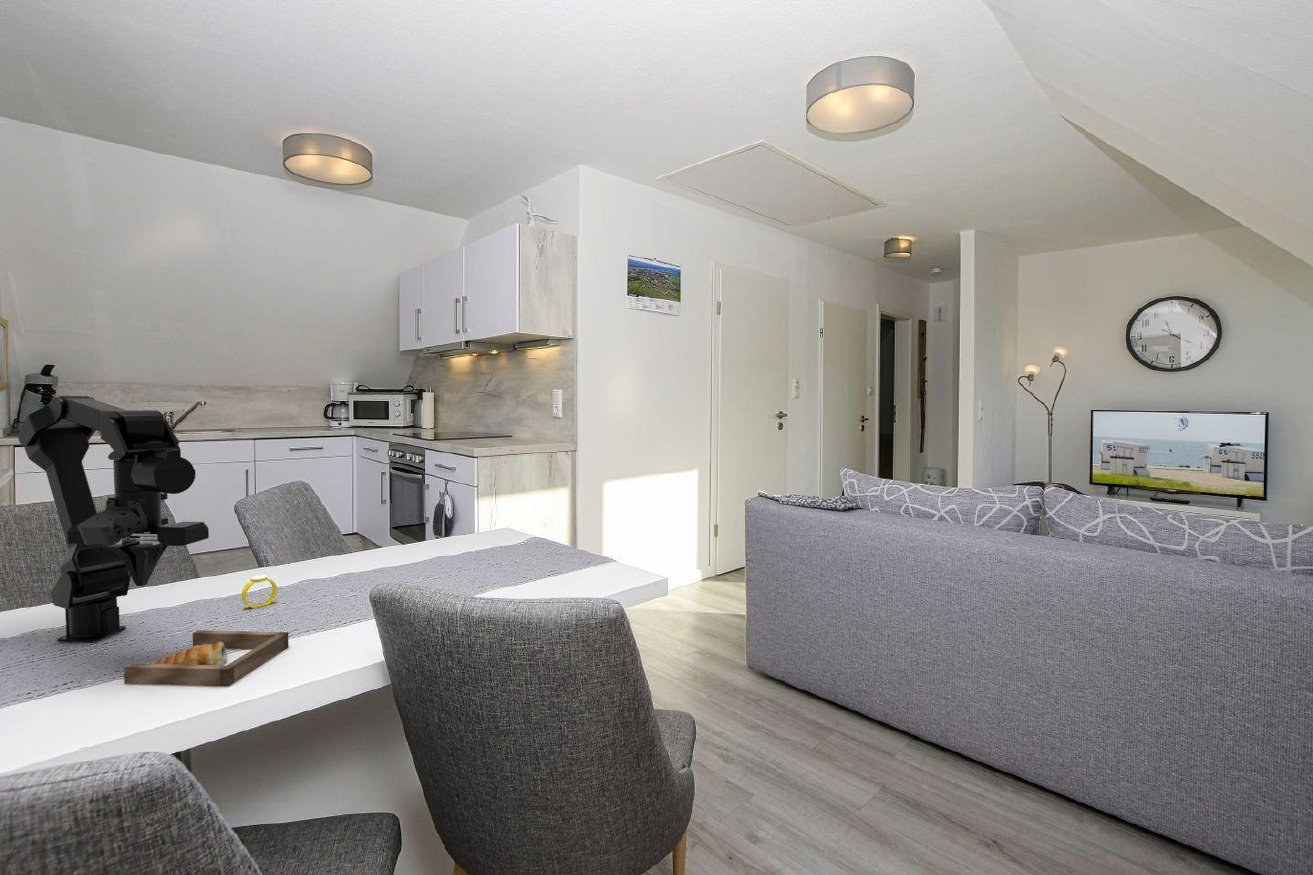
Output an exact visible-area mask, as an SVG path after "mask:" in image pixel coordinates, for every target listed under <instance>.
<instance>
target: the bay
mask: <svg viewBox="0 0 1313 875" xmlns="http://www.w3.org/2000/svg"><path fill="white" fill-rule="evenodd" d="M218 642H222V643H224V646H225V650H226V649H229V650H230V649H231V650H232V649H233V650H236V649H237V650H249V651H248V652H246V653H244V654H243V655H241V656H239V657H237V658H236V659H234V660H232V661H231V662H229V663H228V664H226V665H224V666H218V665H177V664H154V663H133V662H131V663H128V664H127V665H125V666H123V680H124V681H123V683H124V685H157V686H161V685H162V686H198V687H199V686H200V687H202V686H203V687H230V686H232V685H233V684H234V683H236V682H237V681H239V680H240V679H242V678H244V677H245V676H246V675H248V674H249V673H250V674H251V672H252V671H254V670H256V669H258V668H259V667H261V666H262V665H264V664H265V663H266V662H268V661H270V660H271V659H273V658H274V657H276V656H277V655H278V654H280V653H282V652H283V651H285V650H286V649H288V648H289V632H288V631H287V632H284V631H283V632H282V631H251V630H250V631H246V630H245V631H243V630H204V629H201V630H199V629H198V630H196V631H194V632H192V647H193V646H196V645H203V644H217V643H218Z"/></svg>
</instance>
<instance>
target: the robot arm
mask: <svg viewBox="0 0 1313 875" xmlns="http://www.w3.org/2000/svg"><path fill="white" fill-rule="evenodd" d="M96 431H97V432H99V433H100V440H102V441H104V443H106V444H108V445H109V446H110V448H111V449H112V450H113V451H111V452H110V453H109V454H108V457H107V459H108V460H110V461H113V482H114V485H113V487H114V496H111V497H107V500H106V501H105V502H106V503H105V509H104V510H102V511H100V512H99V511H97V509H96V505H95V501H94V498H93V495H92V491H91V487H90V484H89V482H88V477H87V474H86V471H85V469H84V465H83V460H84V458H85V456H86V454H87V452H88V450H89V449H90V442H89V440H90V439H91V438H92V437H93V435H94V434H95V433H96ZM17 435H18V442H19V444H20V445H21V446H22V447H23V449H24V450H25V453H26V456H27V458H28V459H29V460H30V461H31V462H33V463H34V464H35V465H36V466H38V467H39V468H41V469H42V470H43V471H44V472H45V473H46V476H47V481H48V484H49V487H50V488H49V489H50V491H51V494H52V499H53V501H54V504H55V508H56V511H57V514H58V515H57V516H58V518H59V521H60V525H61V529H62V532H63V535H64V538H65V541H66V542H65V543H66V546H67V552H66V553H65V556H64V558H63V561H62V563H61V564H60V567H59V568H60V569H59V570H60V573H61V574H60V577H59V578H58V580H57V582H56V584H55V585H54V587H53V588H52V591H51V592H50V595H51V599H52V600H51V601H52V605H53V606H54V607H58V608H62V609H64V610H65V615H64V616H65V632H66V633H65V635H62V636H59V637H58V638H57V640H56V641H57V642H61V643H62V642H63V643H64V642H65V643H66V642H71V643H73V642H74V643H96V642H98V641H100V640H103V639H105V638H108V637H110V636H112V635H115V634H117V633H119V632H122V631H124V630H126V628H127V626H126V625H120V624H121V623H120V607H119V606H118V597H125V596H127V595H128V593H129V592H128V591H129V588H130V581H131V578H132V580H133V582H134V584H135V586H136V587H144V586H146V585H147V584H148V582H149V580H150V578H151V576H152V574H153V572H154V570H155V569H156V567H157V564H158V563H159V560H160V559H161V557H162V556H163V554H164V552H165V551H166V550H167V548H168V547H181V546H187V545H190V544H194V543H197V542H201V541H204V540H207V539H209V538H210V535H209V534H210V532H209V526H208V525H207V524H206V523H205V522H204V521H179V522H176V523H173V524H169V517H163V516H162V515H163V514H162V512H163V511H162V501H164V500H168V494H169V495H170V494H171V495H177V494H181V493H184V492H186V491H187V490H188V489H190V488H191V486H192V485H193V483H194V481H195V479H196V475H197V474H196V469H195V468H194V465H193V464H192V463H191V461H190V460H188V459H187V458H184V457H182V454H181V447H180V445H179V443H180V440H179V439H178V437H177V436H176V434H175V433H174V432H173V430H172V428H171V426H170V423H169V422H168V419H167V418H166V417H164V414H163V413H162V412H161V411H160V410H157V409H154V410H153V409H124V408H121V407H118V406H116V405H111V404H109V403H106V402H103V401H100V400H96V399H95V398H94V397H92V396H91V397H90V396H88V395H59V396H53V398H52V399H51V400H50V402H49V403H48V404H47V405H45V406H44V407H42V408H40V409H38V410H35V411H33V412H31V413H30V414H28V415H27V417H26V418H25V419H24V420H23V423H22V424H21V425H20V427H19V430H18V433H17Z"/></svg>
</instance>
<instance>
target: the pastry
mask: <svg viewBox="0 0 1313 875" xmlns="http://www.w3.org/2000/svg"><path fill="white" fill-rule="evenodd" d="M227 660H228V654H227V650H226V649H225V646H224V643H222V642H218V643H217V644H203V645H196V646H193V645H192V647H190V648H184V649H182V650H180V651H176V652H173V653H171V654H170V655H168V656H167V655H166V656H164V657H162V658H160V659H158V660H156V661H155V662H154V663H153V664H177V665H218V666H225V662H226V661H227Z"/></svg>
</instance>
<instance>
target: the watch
mask: <svg viewBox="0 0 1313 875" xmlns="http://www.w3.org/2000/svg"><path fill="white" fill-rule="evenodd" d="M266 581H268V582H269V583H270V585H271V588H272V591H271V593H270V596H269V598H268V599H267V600H266V601H265V602H262V603H257V604H250V603H249V601H248V599H247V597H248V596H247V593H248V591H249V589H251V586H253V585H254V584H255V583H262V582H263V583H264V582H266ZM277 594H278V585H277V583H276V582H275V580H272V579H270V578H268V576H267V575H265V574H257V575H254V576H252V577H250V580H249V581H248V582H247V583H246V584H245V585H244V587H243V589H242V591H241V600H242V602H243V604H244V605H245V606H247V607H249V608H251V609H257V608H261V607H265V606H269V605H271V604H272V603H273V601H274V600H275V599H276V597H277Z"/></svg>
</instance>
